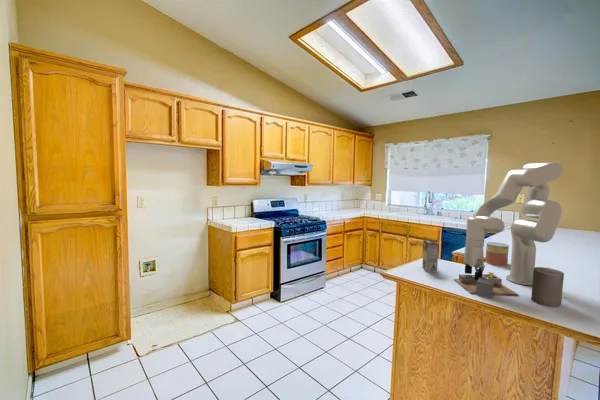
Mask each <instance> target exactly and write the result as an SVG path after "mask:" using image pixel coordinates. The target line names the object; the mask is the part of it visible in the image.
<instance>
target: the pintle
mask: <svg viewBox="0 0 600 400" xmlns="http://www.w3.org/2000/svg"><path fill="white" fill-rule="evenodd" d="M487 274H488V275H487V278H493V275H495V274H494V272H490V271H488V272H487Z"/></svg>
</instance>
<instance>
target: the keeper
mask: <svg viewBox="0 0 600 400" xmlns="http://www.w3.org/2000/svg"><path fill="white" fill-rule="evenodd" d="M494 283H495V280H491V279H486V278H481V277H479V279H478V280H477V284H476V294H475V295H477V296H482V297H486V298H490V299H492V298H493V296H494V295H493V285H494Z"/></svg>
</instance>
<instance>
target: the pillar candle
mask: <svg viewBox="0 0 600 400" xmlns="http://www.w3.org/2000/svg"><path fill="white" fill-rule="evenodd" d="M564 276H565V273H564V272H563V271H561V270H558V269H555V268H551V267H544V266H543V267H542V266H537V267H536V266H535V268H534V272H533V283H532V287H531V298H530V300H531V301H533V302H534V303H536V304H538V305H540V306H545V307H549V308H561V306H562V302H563V301H562V299H563V289H564V278H565V277H564Z"/></svg>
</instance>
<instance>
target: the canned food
mask: <svg viewBox="0 0 600 400" xmlns="http://www.w3.org/2000/svg"><path fill="white" fill-rule="evenodd" d="M485 245H486V248H485V261H484V262H485V264H488V265H491V266H496V267H507V266H508V264H509V263H508V262H509V247H510V245H509V244H507V243H502V242H497V241H496V242H493V241H488V242H486V244H485Z"/></svg>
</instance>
